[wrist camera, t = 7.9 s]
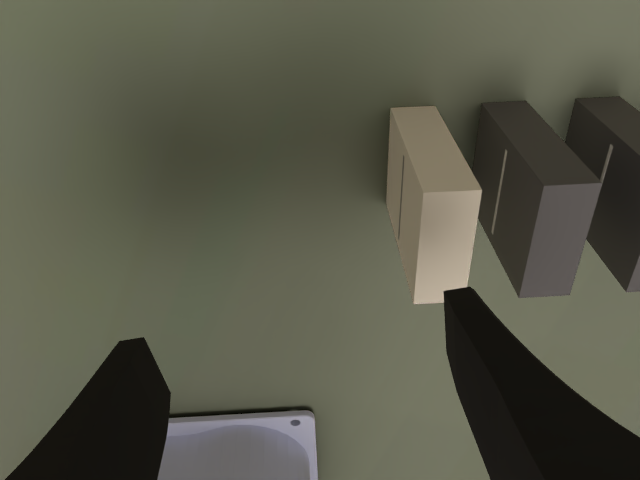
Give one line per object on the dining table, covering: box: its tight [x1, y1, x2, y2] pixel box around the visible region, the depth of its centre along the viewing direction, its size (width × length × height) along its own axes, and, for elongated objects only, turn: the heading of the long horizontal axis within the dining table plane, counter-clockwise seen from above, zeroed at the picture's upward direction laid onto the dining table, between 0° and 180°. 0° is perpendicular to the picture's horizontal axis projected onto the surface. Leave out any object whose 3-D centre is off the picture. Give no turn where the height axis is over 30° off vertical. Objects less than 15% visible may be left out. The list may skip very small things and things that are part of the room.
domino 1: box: [386, 106, 482, 304], centre depth 19 cm, size 2×4×6 cm, turn 2°
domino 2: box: [472, 101, 602, 298], centre depth 19 cm, size 2×4×6 cm, turn 2°
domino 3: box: [565, 97, 640, 292], centre depth 19 cm, size 2×4×6 cm, turn 2°
